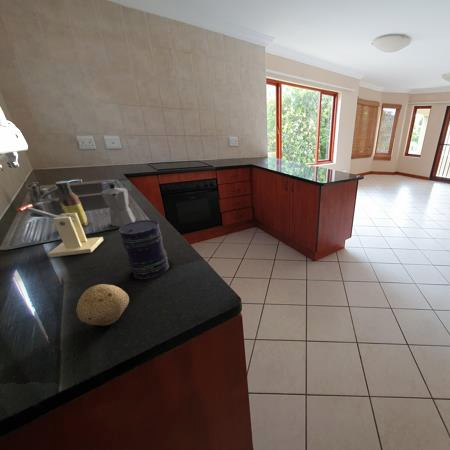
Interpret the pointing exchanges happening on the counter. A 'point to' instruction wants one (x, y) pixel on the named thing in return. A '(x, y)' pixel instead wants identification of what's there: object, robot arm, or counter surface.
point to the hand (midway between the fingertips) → (6, 169)
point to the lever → (39, 212)
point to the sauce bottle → (70, 202)
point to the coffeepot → (118, 206)
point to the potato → (102, 304)
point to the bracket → (72, 237)
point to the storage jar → (144, 248)
